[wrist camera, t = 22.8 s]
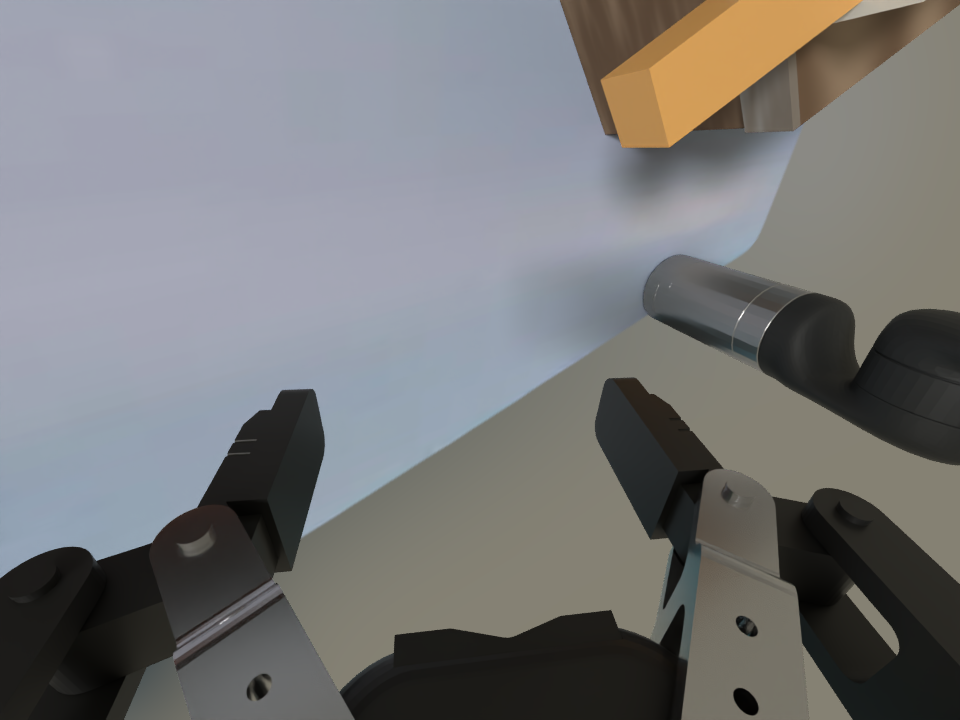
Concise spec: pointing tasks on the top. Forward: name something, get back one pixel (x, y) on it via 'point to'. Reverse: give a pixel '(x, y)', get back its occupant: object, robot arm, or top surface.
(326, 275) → the top surface
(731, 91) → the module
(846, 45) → the rail stand
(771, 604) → the robot arm
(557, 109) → the top surface
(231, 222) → the top surface
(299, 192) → the top surface
